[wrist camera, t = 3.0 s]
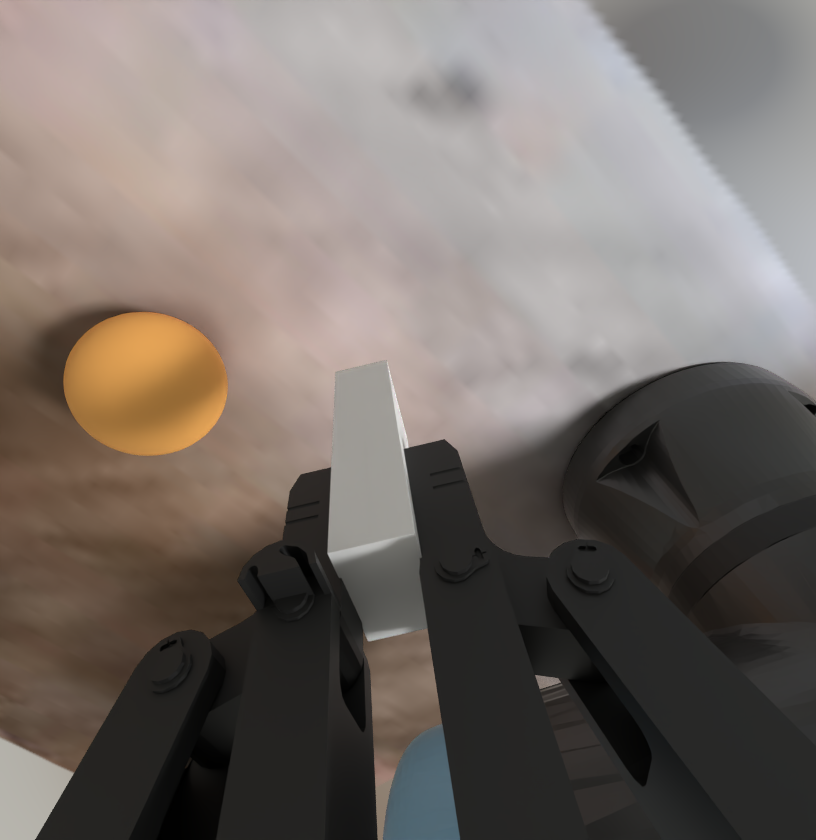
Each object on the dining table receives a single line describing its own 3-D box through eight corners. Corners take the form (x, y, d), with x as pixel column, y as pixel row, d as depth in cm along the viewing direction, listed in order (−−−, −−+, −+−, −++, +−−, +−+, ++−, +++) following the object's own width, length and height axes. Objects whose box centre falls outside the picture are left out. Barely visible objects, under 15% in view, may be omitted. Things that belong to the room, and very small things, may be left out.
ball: (207, 278, 20) (160, 329, 15) (258, 393, 24) (234, 466, 19) (76, 310, 21) (-12, 371, 16) (145, 420, 24) (91, 499, 19)
